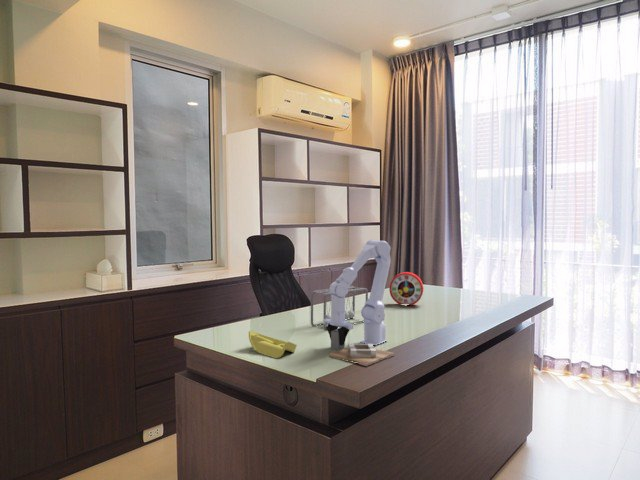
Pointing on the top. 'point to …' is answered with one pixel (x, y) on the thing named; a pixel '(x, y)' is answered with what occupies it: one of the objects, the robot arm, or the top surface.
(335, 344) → the grey rectangular block
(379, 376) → the top surface
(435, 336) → the top surface
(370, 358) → the duct base
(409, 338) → the top surface
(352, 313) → the newton's cradle
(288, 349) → the plastic component
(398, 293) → the toy clock
